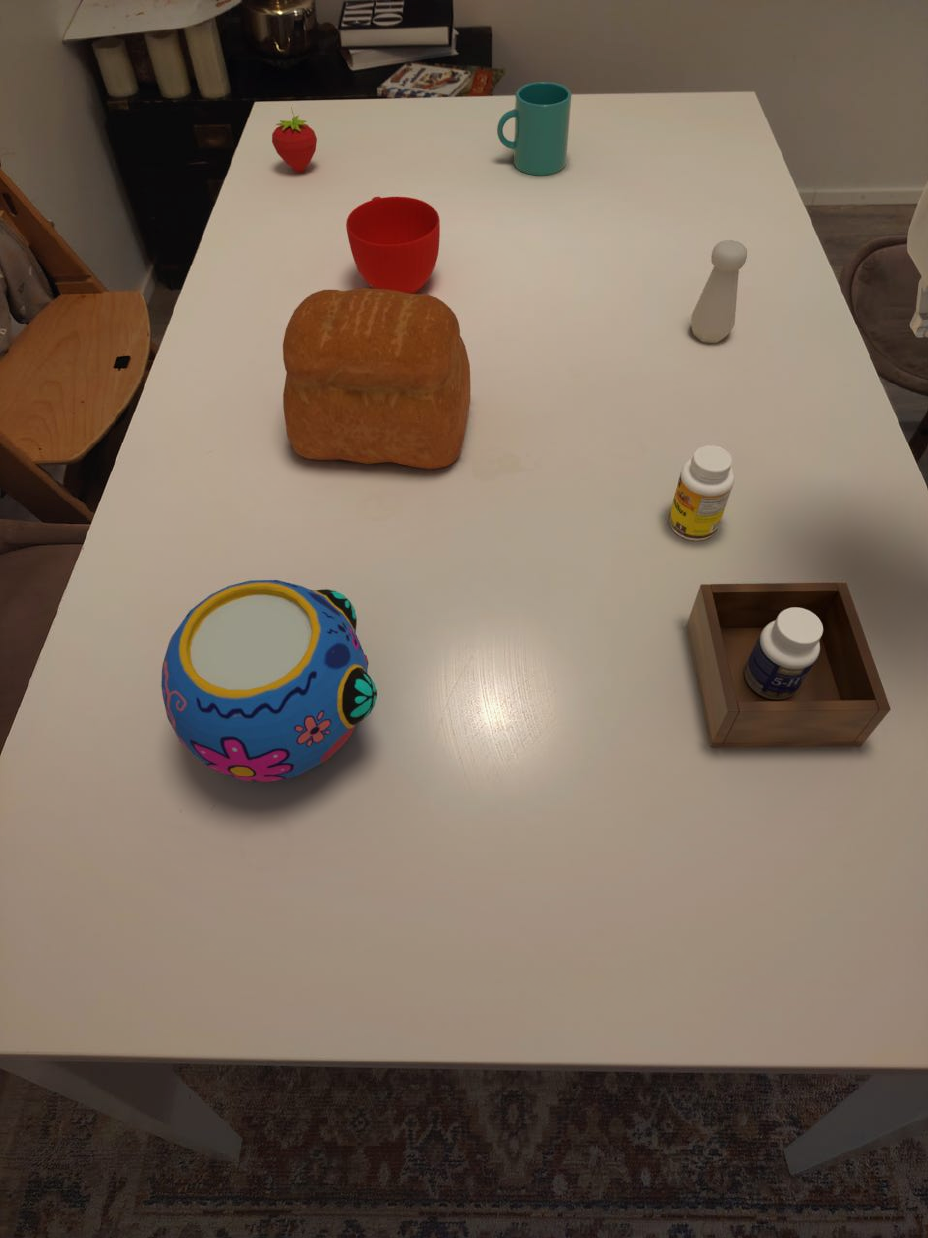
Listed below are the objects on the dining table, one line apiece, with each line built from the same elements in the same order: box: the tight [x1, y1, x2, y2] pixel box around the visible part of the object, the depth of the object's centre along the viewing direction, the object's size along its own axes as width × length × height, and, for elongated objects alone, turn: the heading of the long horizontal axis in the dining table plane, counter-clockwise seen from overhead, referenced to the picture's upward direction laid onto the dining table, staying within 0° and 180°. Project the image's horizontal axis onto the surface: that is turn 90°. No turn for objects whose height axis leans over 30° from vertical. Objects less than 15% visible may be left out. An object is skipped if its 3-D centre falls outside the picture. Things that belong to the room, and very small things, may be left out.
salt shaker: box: [690, 239, 748, 344], centre depth 108 cm, size 6×6×13 cm
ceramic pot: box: [160, 579, 378, 783], centre depth 73 cm, size 18×18×15 cm
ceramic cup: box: [345, 196, 441, 294], centre depth 119 cm, size 13×17×10 cm
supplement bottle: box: [668, 444, 735, 542], centre depth 89 cm, size 6×6×10 cm
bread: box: [282, 287, 472, 470], centre depth 97 cm, size 18×22×17 cm
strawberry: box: [271, 107, 318, 174], centre depth 138 cm, size 6×8×10 cm
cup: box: [496, 81, 572, 177], centre depth 138 cm, size 9×12×11 cm
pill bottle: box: [744, 607, 823, 700], centre depth 76 cm, size 5×5×9 cm
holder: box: [686, 581, 892, 748], centre depth 78 cm, size 14×14×7 cm
